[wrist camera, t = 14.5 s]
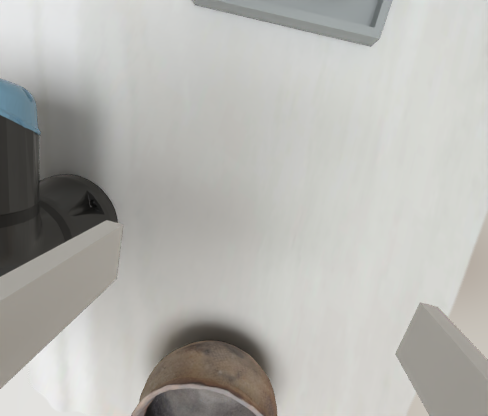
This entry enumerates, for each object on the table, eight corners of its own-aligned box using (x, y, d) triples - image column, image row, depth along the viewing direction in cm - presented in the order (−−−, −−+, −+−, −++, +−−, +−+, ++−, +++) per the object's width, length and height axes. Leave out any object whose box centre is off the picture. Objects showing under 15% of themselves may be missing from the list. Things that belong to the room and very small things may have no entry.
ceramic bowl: (139, 352, 54) (90, 433, 40) (224, 293, 49) (204, 361, 34) (214, 427, 57) (194, 527, 43) (301, 379, 52) (312, 475, 38)
